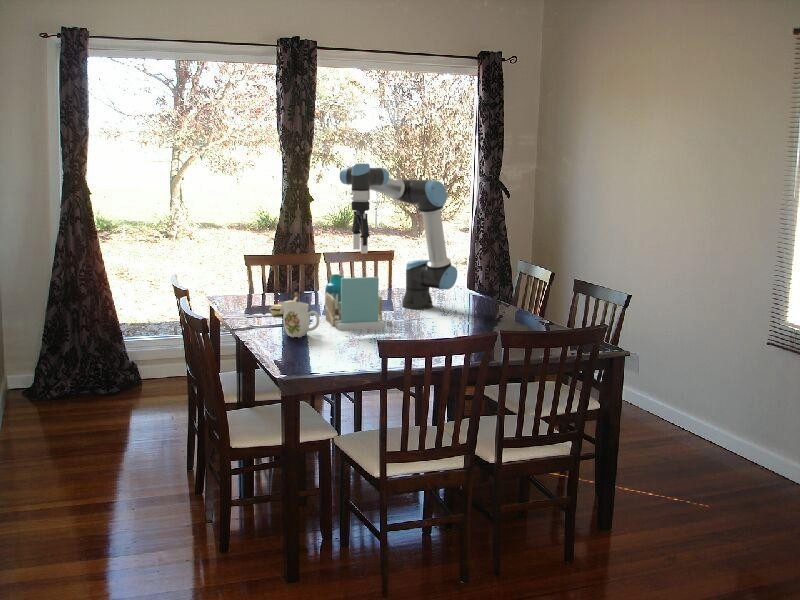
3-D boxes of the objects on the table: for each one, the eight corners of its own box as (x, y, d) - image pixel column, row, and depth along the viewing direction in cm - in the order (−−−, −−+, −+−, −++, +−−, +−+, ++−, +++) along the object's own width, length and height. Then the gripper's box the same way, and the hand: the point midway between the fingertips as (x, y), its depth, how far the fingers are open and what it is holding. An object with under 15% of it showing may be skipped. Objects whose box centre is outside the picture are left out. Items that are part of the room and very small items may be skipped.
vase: (344, 318, 368) (344, 277, 365) (322, 317, 370) (322, 276, 367) (350, 313, 378) (350, 273, 375) (328, 312, 380) (328, 272, 377)
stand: (379, 327, 350) (379, 318, 350) (384, 331, 343) (384, 322, 343) (334, 329, 345) (334, 320, 344) (338, 333, 338) (338, 324, 337)
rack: (372, 320, 365) (373, 291, 363) (381, 327, 351) (382, 297, 348) (325, 322, 359) (325, 292, 356) (332, 329, 345) (332, 299, 342)
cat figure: (287, 308, 395) (264, 314, 371) (288, 291, 394) (264, 295, 370) (306, 310, 392) (283, 316, 368) (306, 292, 391) (283, 297, 367)
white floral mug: (315, 340, 325) (314, 307, 323) (273, 337, 329) (273, 304, 327) (323, 334, 336) (323, 302, 333) (283, 331, 340) (282, 299, 337)
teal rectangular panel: (376, 326, 347) (377, 276, 343) (378, 327, 345) (378, 277, 341) (340, 328, 343) (340, 278, 338) (341, 329, 341) (341, 278, 337)
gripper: (345, 198, 344) (345, 247, 348) (358, 202, 321) (358, 255, 325) (362, 198, 347) (361, 247, 351) (376, 202, 323) (376, 254, 327)
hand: (360, 251), depth 338 cm, fingers open, 13 cm apart
